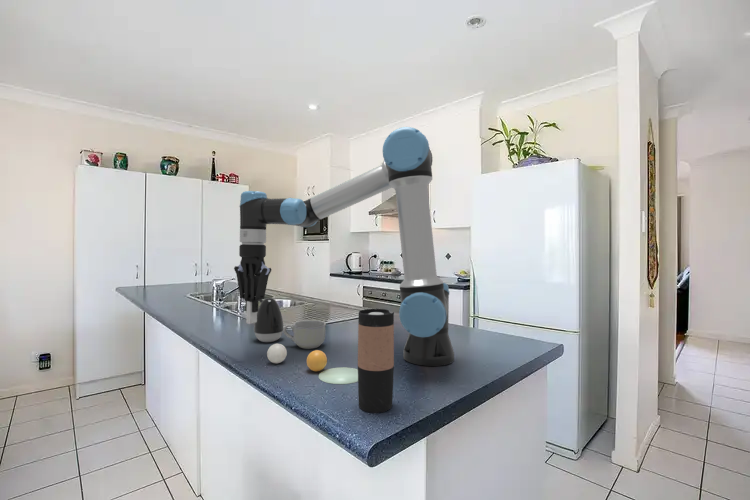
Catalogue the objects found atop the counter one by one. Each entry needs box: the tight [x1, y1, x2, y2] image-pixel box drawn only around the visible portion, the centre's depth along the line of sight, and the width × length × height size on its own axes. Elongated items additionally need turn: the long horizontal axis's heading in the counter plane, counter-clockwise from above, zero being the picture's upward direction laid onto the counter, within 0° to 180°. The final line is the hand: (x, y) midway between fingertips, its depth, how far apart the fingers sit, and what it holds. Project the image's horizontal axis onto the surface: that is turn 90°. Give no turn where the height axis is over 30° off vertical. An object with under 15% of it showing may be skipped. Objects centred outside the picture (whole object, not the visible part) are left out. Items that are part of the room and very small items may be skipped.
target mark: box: [318, 366, 358, 385], centre depth 97 cm, size 12×12×1 cm
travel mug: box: [357, 308, 395, 414], centre depth 79 cm, size 8×8×20 cm
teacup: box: [282, 319, 327, 350], centre depth 125 cm, size 14×11×8 cm
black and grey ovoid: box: [253, 297, 285, 343], centre depth 132 cm, size 10×10×15 cm
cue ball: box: [266, 343, 288, 364], centre depth 107 cm, size 6×6×6 cm
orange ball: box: [306, 349, 328, 372], centre depth 101 cm, size 6×6×6 cm
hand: (251, 322), depth 112 cm, fingers closed
